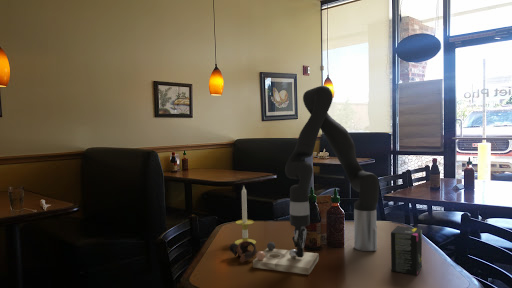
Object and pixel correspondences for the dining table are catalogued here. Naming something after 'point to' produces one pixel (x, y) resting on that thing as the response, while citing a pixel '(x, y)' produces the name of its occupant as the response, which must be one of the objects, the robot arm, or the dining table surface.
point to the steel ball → (293, 253)
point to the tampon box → (406, 250)
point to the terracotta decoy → (260, 255)
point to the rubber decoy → (271, 246)
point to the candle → (244, 220)
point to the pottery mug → (243, 250)
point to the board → (287, 261)
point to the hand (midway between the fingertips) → (300, 256)
